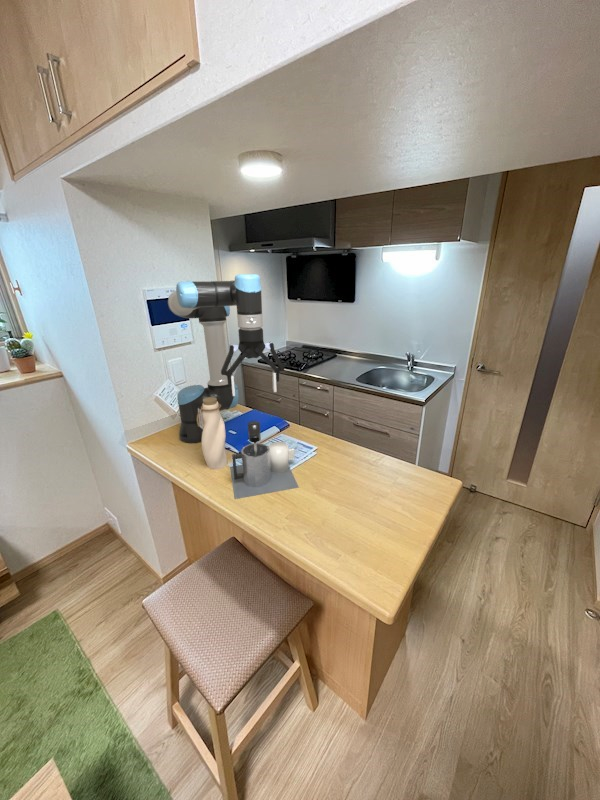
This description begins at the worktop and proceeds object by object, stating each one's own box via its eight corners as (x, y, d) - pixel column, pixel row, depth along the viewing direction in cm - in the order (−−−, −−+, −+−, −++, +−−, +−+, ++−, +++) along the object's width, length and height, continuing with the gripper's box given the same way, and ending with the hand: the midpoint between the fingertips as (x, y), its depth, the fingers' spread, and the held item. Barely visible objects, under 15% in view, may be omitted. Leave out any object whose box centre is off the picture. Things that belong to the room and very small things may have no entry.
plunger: (245, 468, 115) (241, 420, 108) (265, 465, 117) (262, 418, 110) (248, 480, 109) (243, 429, 102) (269, 476, 111) (266, 426, 104)
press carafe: (233, 475, 116) (230, 446, 112) (268, 469, 120) (266, 441, 115) (236, 491, 108) (233, 460, 103) (273, 484, 111) (271, 454, 107)
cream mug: (267, 463, 123) (266, 443, 120) (292, 460, 126) (291, 439, 123) (271, 474, 116) (270, 453, 113) (297, 470, 119) (296, 449, 116)
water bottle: (213, 477, 117) (204, 407, 107) (198, 469, 122) (188, 401, 112) (234, 464, 125) (227, 398, 115) (219, 457, 130) (212, 393, 120)
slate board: (230, 468, 122) (229, 466, 122) (285, 460, 128) (285, 458, 127) (234, 501, 104) (234, 499, 104) (298, 489, 110) (298, 487, 109)
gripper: (208, 331, 91) (216, 400, 99) (292, 328, 97) (293, 392, 105) (208, 327, 98) (215, 392, 105) (287, 324, 104) (288, 385, 111)
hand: (254, 392), depth 105 cm, fingers open, 13 cm apart
